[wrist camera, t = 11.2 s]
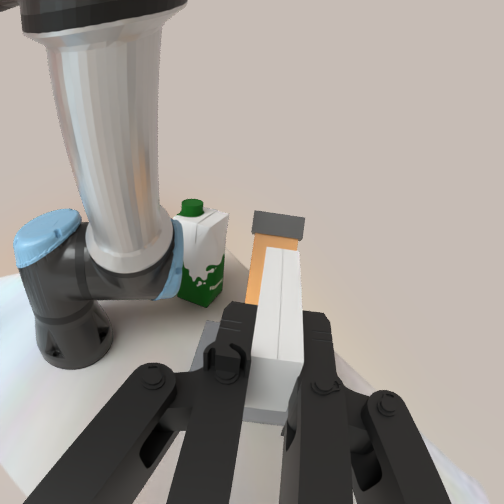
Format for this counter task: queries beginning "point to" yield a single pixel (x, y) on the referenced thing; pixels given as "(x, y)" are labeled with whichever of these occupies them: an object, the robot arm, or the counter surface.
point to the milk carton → (202, 251)
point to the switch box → (249, 413)
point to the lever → (270, 244)
